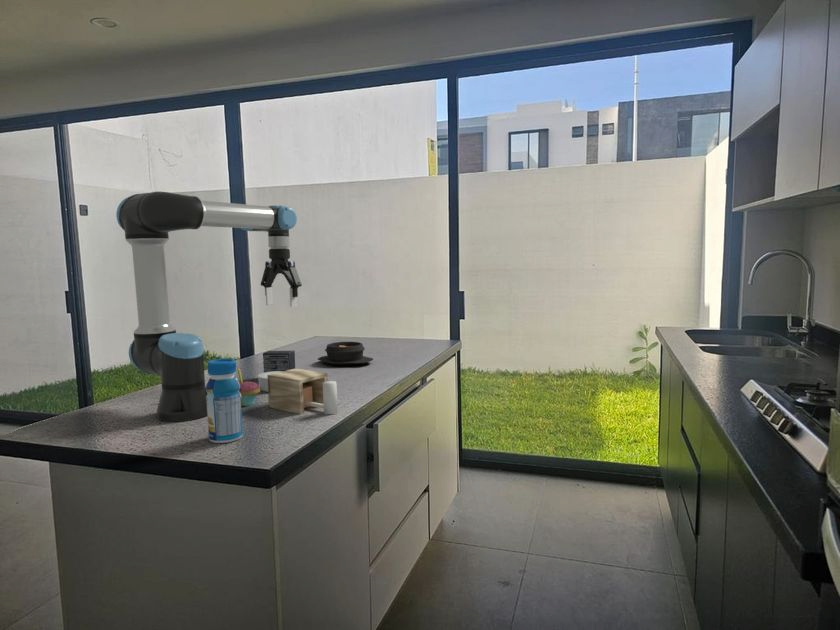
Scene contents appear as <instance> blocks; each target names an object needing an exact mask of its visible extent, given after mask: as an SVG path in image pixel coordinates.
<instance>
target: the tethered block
mask: <svg viewBox="0 0 840 630" xmlns="http://www.w3.org/2000/svg"><path fill="white" fill-rule="evenodd" d="M337 387H338V385H337V381H336V380H335V381H334V380H328V381H326V382H323V404H320V403H315V402H313V398H312V386H308V385H303V407H304V409H305V408H309V407H313V408H319V409H323V414H324V415H326V414H333V415H336V414H338V413H337V412H339V411H338V388H337Z"/></svg>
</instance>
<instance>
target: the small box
mask: <svg viewBox="0 0 840 630" xmlns="http://www.w3.org/2000/svg"><path fill="white" fill-rule="evenodd" d="M295 352H296V351H295V350H267V351H265V352H262V361H263V373H265V372H272V371H287V370H291V369H295V368H296V355H295Z"/></svg>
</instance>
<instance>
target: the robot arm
mask: <svg viewBox="0 0 840 630" xmlns="http://www.w3.org/2000/svg"><path fill="white" fill-rule="evenodd" d="M115 216H116V220H117V223H118V226H119V227H120V228H121V229H122V230H123V231H124V236H125V237H124V238H125V241H126V242H127V243H128V244H129V245H130V246H131V250H132V261H133V262H132V263H133V273H134V274H133V275H134V284H135V285H134V286H135V297H136V307H137V319H138V321H137V322H138V326H137V328H136V329H135V330H134V331H133V340H132V342H131V343H130V345H129V348H128V358H129V361H130V362H131V364H132V365H133V366H134V367H135V368H136V369H137V370H139V371H141V372H143V373H144V374H145V373H146V374H149V375H157V376H160V381H161V382H160V383H161V394H160V397H159V400H158V404H157V409H156V418H157V420H160V421H163V422H184V421H191V420H196V419H201V418H203V417H206V416H207V417H208V414H207V404H206V396H207V392H206V380H205V375H206V374H205V360H204V359H205V358H204V352H205V351H204V350H205V348H204V345H203V340H202V338H201V337H200V336H199V335H197V334H193V333H183V332H177V329H176V327H175V326H173V324H171V322H170V321H171V320H170V307H169V306H170V305H169V296H168V284H167V283H168V282H167V270H166V257H165V245H166V243H167V242H168V241H169V240H170V238H169V232H174V231H175V232H176V231H182V230H183V231H184V230H198V229H200V228H201V227H212V228H235V229H241V230H242V231H246V232H265V233H266V232H267V238H268V245H267V246H268V248H269V249H268V258H269V260H271V261H269V260H268V261H265V264H264V270H263V274H262V278H261V281H260V286H261V287H264V295H265V299H266V300H265V306H271V305H274V291H273V289H274V288H273V283H274V281H275V279H276V278H277V275H279V274H281V275H283V276H284V278H285V279H286V282H287V283H288V284H289V286H290V288H289V307H298V296H299V294H298V289H299V288H300V287H302V282H301V279H300V277H299V274H298V270H297V268H296V262H295V261H294V260H289V259H290V258H291V250H290V249H289V248H290V230H292V229H293V228H295V226H296V225H297V221H298V218H297V217H298V216H297V213H296V211H295V210H294V208H292V207H289V206H287V205H286V206H285V205H275V204H274V205H268V206H266V205H256V204H244V203H234V202H221V201H210V200H202V199H201V198H199V197H198V196H194V195H186V194H180V193H173V192H168V191H152V192H143V193H135V194H132V195H130V196H128V197H126V198H124V199H123V200H121V202H120V203H119V205H118V206H117V209H116V215H115Z"/></svg>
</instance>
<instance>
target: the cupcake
mask: <svg viewBox="0 0 840 630" xmlns="http://www.w3.org/2000/svg"><path fill="white" fill-rule="evenodd" d="M237 373H238V376H239V377H238V378H239V383H240V389H239V392H240V393H241V407H247V406H252V405H254V404H255V402H256V398H257V395H258V394H259V393H260V392H261V389H260V385H259V384H258V383H256V382H254V381H251V380H250V381H243V377H242V373H241V369H240V368H239V367H237Z"/></svg>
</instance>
